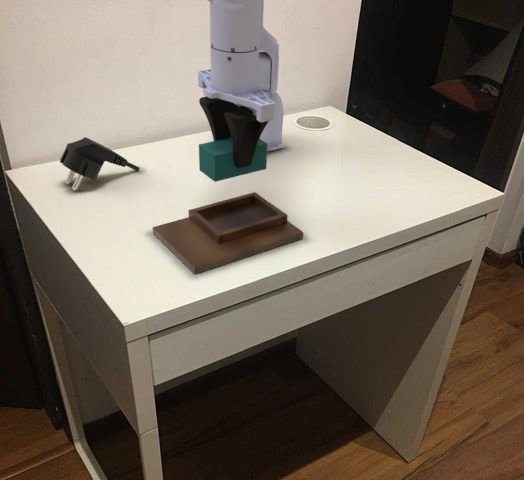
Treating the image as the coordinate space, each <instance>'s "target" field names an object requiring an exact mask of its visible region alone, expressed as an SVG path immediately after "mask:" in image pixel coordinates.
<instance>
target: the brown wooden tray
mask: <svg viewBox="0 0 524 480" xmlns="http://www.w3.org/2000/svg"><path fill="white" fill-rule="evenodd" d="M152 234H153V235H154V236H155V237H156V238H157V239H158V240H159V241H160V242H161V243H162V244H163V245H164V247H166V248H167V249H168V250H169V251H170V252H171V253H172V254H173V255H175V257H176V258H177V259H178V260H179V261H180V262H181V263H183V265H185V267H186V268H187V269H188V270H190V271H191V272H192V273H193V274H194V275H197V274H199V273H203V272H205V271H209V270H212V269H214V268H218V267H221V266H225V265H226V264H231V263H233V262H236V261H239V260H242V259H245V258H248V257H252V256H255V255H257V254H261V253H263V252H267V251H269V250H272V249H275V248H279V247H282V246H285V245H287V244H292V243H293V242H297V241H299V240H303V239H304V232H303V231H302V230H301V229H300V228H298V227H297V226H296V225H294V224H292V223H291V222H290V221H288V214H286V213H285V212H284V211H282V210H281V209H280V208H278V207H277V206H275V205H274V204H272V203H271V202H270V201H269V200H267V199H266V198H264V197H263V196H261V194H259V193H257V192H256V191H254V192H250V193H246V194H243V195H242V194H241V195H239V196H235V197H232V198H227V199H224V200H221V201H216V202H213V203H209V204H205V205H202V206H198V207H195V208H190V209H188V217H184V218H181V219H177V220H173V221H170V222H167V223H163V224H159V225H156V226H153V227H152Z"/></svg>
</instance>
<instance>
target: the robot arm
mask: <svg viewBox="0 0 524 480" xmlns="http://www.w3.org/2000/svg"><path fill="white" fill-rule="evenodd" d="M207 1H208V2H209V35H210V36H209V42H210V43H209V45H210V47H209V49H210V68H209V69H202V70H197V82H198V87H199V88H200V89H202V94H203V96H202V97H200V98H199V100H198V102H199V105H200V107H201V109H202V110H203V113H204V114H205V117H206V119H207V122H208V124H209V127H210V131H211V135H212V139H213V141H217V140H222V139H226V138H231V137H232V143H233V156H234V162H235V166H236V167H237V168H242V167H246V166H251V164H252V160H253V157H254V153H255V150H256V147H257V144H258V141H259V139H261V140H262V141H264V142H266V143H267V153H268V152H272V151H276V150H280V149H284V148H285V144H283V143H282V142H283V141H282V140H283V125H284V104H283V100H282V98H281V96H280V94H279V93H278V92H277V91H278V85H279V84H278V83H279V68H280V67H279V65H280V54H279V53H280V45H279V43H278V40H277V39H276V38H275V36H273V35H272V33H270V32H269V31H268V30H267V29H266V28H265V27H264V8H265V7H264V6H265V0H207Z"/></svg>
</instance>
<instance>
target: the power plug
mask: <svg viewBox="0 0 524 480" xmlns="http://www.w3.org/2000/svg"><path fill="white" fill-rule="evenodd" d="M105 162H107V163H109V164H113V165H116V166H119V167H123V168H126V167H127V168H130V169H132V170H134V171H137V172H139V171H140V167H139V166H137V165H135V164H133V163H131V162H129V161H128V159H126V158H125V157H123V156H121V155H120V154H118V153H117V152H116V151H114V150H113V149H110V148H109V147H106V146H105V145H103V144H101V143H99V142H98V141H94V140H92V139H90V138H89V137H86V136H85V137H82V138H81V139H78V140H76V141H73V142H70V143H67V144H66V146H65V149H64V150H63V153H62V155H61V158H60V159H59V163H60V164H62V166H64V167H65V168H66V169H68V170H69V172H68V174H67V177H66V179H65V184H67V185H70V184H71V183H72V181H73V178H74V176H75V174H77V176H76V178H75V179H74V182H73V184H72V186H71V188H72V190H73V191H78V190H79V187H80V184H81V182H82V181H83V179H84V178H86V179H88V180H91V181H97V178H98V176H99V174H100V173H101V170H102V168H103V166H104V163H105Z"/></svg>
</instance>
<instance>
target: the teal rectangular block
mask: <svg viewBox="0 0 524 480" xmlns="http://www.w3.org/2000/svg"><path fill="white" fill-rule="evenodd" d="M198 160H199V165H198V166H199V171H200V172H201V173H202V174H204V175H205V176H206V177H208V178H209V179H210V180H212V181H213V182H215V183H217V182H220V181H224V180H228V179H233V178H236V177H240V176H243V175H249V174H253V173H256V172H260V171H263V170H267V164H268V163H267V162H268V161H267V160H268V152H267V143H266V142H264V141H262V140H261V139H259V141H258V144H257V147H256V150H255V153H254V157H253V160H252V164H251V166H246V167H242V168H237V167H236V166H235V162H234V156H233V143H232V137H231V138H226V139H222V140H217V141H214V140H213V141H208V142H204V143H199V144H198Z"/></svg>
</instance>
